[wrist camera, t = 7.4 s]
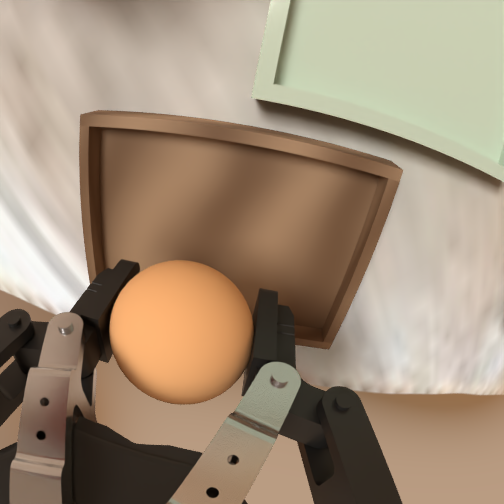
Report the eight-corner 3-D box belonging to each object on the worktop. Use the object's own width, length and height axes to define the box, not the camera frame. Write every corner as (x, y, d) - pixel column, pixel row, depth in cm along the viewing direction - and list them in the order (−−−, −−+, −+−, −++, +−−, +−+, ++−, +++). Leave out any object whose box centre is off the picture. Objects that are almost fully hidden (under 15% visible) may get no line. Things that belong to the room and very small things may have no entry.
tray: (391, 161, 14) (403, 170, 13) (326, 330, 21) (329, 349, 19) (98, 110, 14) (80, 114, 13) (103, 284, 20) (92, 299, 19)
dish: (525, -18, 6) (541, -21, 5) (496, 177, 14) (513, 187, 12) (302, -120, 6) (304, -135, 4) (254, 97, 14) (251, 98, 12)
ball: (270, 248, 11) (263, 356, 7) (247, 342, 14) (234, 440, 9) (138, 223, 11) (69, 308, 7) (142, 319, 14) (101, 406, 9)
